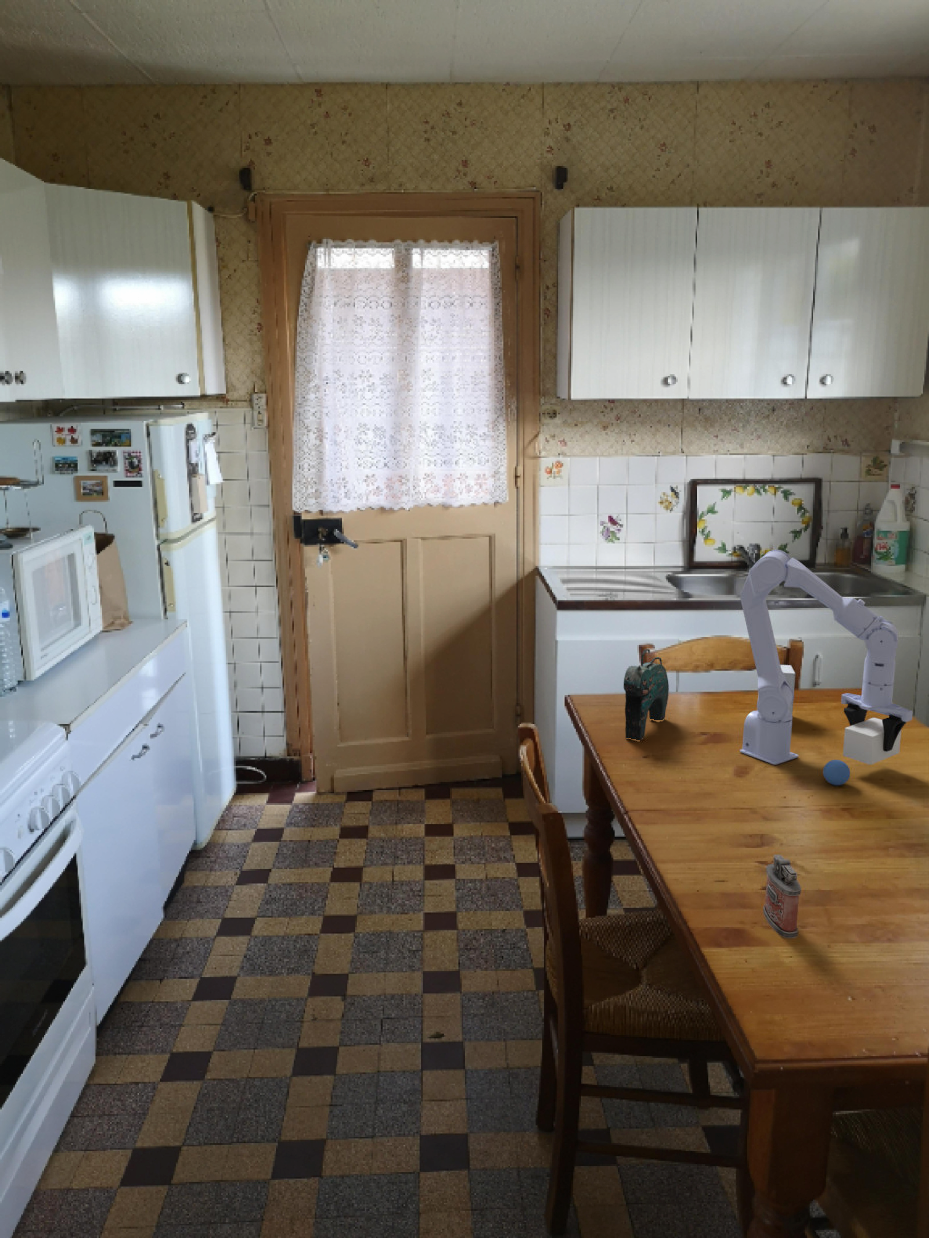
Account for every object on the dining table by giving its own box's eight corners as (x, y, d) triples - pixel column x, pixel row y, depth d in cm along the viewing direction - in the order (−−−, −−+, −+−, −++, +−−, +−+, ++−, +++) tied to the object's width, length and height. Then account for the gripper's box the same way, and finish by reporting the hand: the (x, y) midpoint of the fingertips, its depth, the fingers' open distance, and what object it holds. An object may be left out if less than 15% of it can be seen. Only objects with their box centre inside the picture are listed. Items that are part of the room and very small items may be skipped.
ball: (816, 783, 190) (818, 759, 189) (832, 777, 193) (834, 754, 192) (838, 791, 186) (841, 767, 185) (854, 785, 189) (856, 761, 188)
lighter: (758, 909, 144) (762, 848, 142) (779, 907, 145) (784, 847, 142) (779, 938, 137) (784, 875, 134) (802, 937, 137) (807, 874, 134)
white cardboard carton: (870, 764, 189) (872, 736, 188) (842, 755, 194) (844, 728, 193) (899, 753, 195) (901, 725, 193) (871, 744, 200) (873, 717, 198)
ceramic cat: (641, 745, 211) (644, 659, 206) (614, 740, 214) (616, 655, 210) (672, 719, 227) (676, 638, 223) (647, 715, 231) (649, 635, 226)
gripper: (834, 676, 195) (829, 739, 198) (900, 694, 183) (894, 760, 186) (855, 670, 199) (849, 732, 202) (920, 687, 187) (914, 752, 190)
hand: (872, 745), depth 194 cm, fingers closed on white cardboard carton, 6 cm apart
